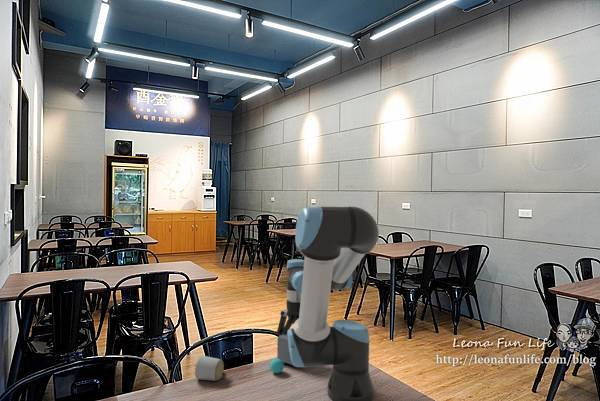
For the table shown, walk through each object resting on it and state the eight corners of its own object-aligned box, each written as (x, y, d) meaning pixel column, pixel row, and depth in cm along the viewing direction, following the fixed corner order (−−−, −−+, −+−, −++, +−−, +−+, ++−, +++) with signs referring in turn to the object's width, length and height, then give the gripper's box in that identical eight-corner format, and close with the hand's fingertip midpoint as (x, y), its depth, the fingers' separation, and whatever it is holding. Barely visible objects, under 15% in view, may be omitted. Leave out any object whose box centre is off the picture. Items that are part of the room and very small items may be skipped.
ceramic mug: (216, 385, 136) (217, 362, 136) (194, 382, 137) (194, 360, 137) (227, 372, 146) (228, 351, 146) (206, 370, 147) (207, 349, 147)
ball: (286, 372, 146) (286, 358, 146) (277, 377, 142) (277, 363, 142) (276, 368, 149) (276, 355, 149) (267, 373, 145) (267, 359, 145)
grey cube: (314, 358, 155) (314, 335, 155) (298, 366, 147) (298, 343, 147) (293, 351, 161) (293, 330, 161) (277, 359, 153) (277, 337, 153)
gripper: (326, 302, 150) (325, 361, 150) (280, 293, 164) (279, 346, 164) (314, 307, 144) (314, 368, 144) (267, 296, 158) (267, 352, 158)
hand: (295, 356), depth 154 cm, fingers closed on grey cube, 10 cm apart
